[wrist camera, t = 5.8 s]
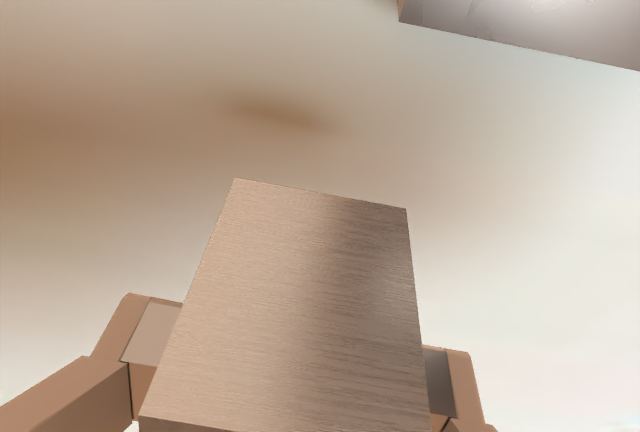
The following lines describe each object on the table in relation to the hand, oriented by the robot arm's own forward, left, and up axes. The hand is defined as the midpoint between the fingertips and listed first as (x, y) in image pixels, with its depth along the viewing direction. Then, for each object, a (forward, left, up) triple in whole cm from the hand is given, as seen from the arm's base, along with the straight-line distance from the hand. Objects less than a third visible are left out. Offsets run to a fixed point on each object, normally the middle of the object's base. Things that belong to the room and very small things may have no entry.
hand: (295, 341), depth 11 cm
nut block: (0, 0, -3) cm, 3 cm away
